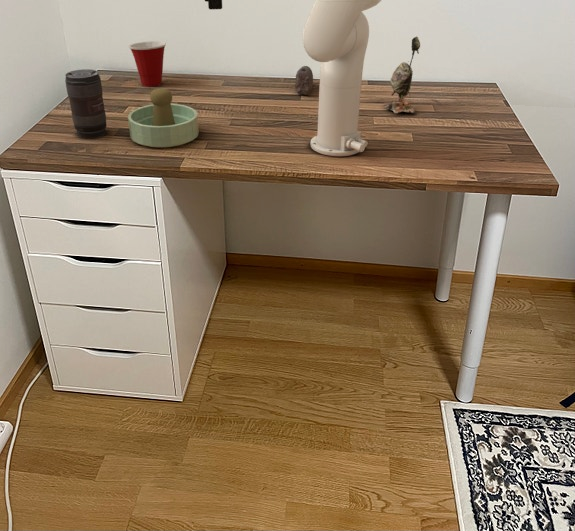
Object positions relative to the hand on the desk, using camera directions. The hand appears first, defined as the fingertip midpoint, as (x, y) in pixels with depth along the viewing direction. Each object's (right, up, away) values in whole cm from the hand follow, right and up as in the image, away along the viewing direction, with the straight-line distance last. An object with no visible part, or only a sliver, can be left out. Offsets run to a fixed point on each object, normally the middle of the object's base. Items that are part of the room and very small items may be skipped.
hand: (213, 5), depth 150 cm
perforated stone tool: (+23, -10, +37) cm, 45 cm away
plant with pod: (+49, -19, +24) cm, 58 cm away
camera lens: (-31, -30, +5) cm, 43 cm away
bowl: (-12, -31, +4) cm, 33 cm away
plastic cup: (-23, -8, +40) cm, 47 cm away
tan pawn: (-12, -30, +4) cm, 33 cm away
